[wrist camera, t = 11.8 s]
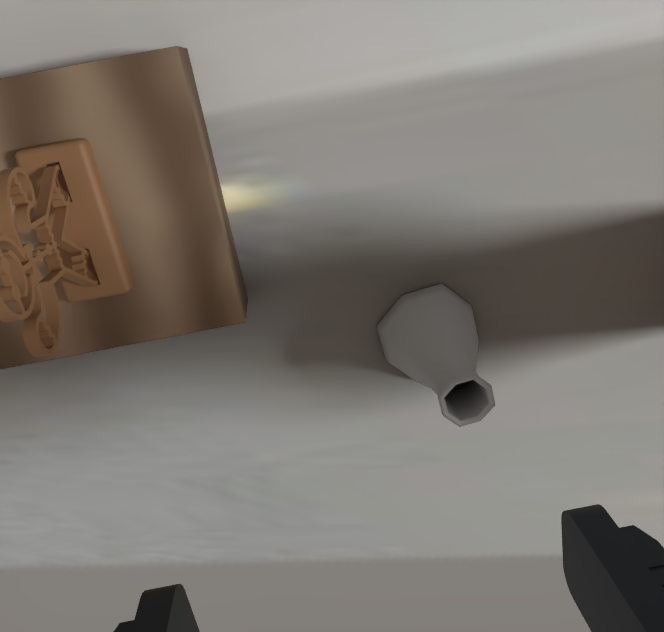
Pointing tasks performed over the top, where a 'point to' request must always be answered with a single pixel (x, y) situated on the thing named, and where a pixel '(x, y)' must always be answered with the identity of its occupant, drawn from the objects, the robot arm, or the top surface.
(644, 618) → the robot arm
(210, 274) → the walnut plinth
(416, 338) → the flask
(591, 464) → the top surface
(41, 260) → the gingerbread man figurine
